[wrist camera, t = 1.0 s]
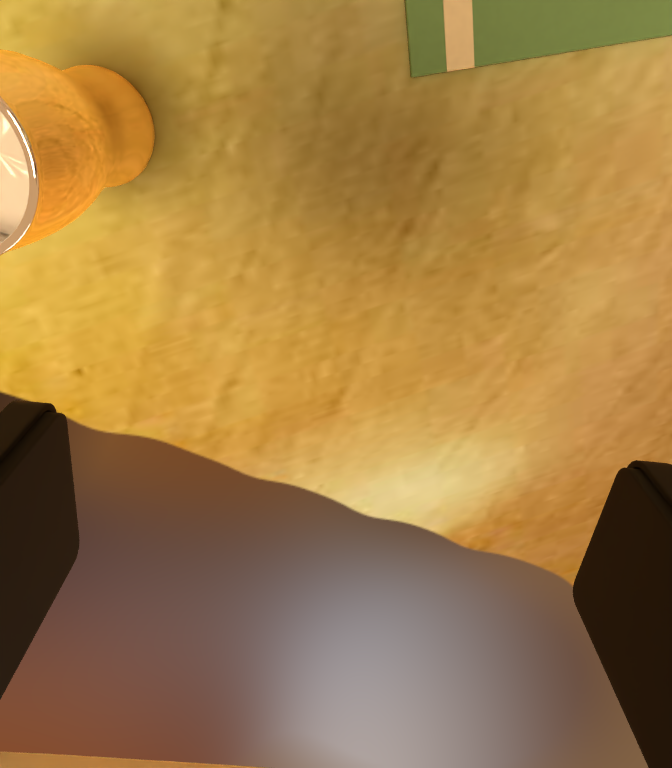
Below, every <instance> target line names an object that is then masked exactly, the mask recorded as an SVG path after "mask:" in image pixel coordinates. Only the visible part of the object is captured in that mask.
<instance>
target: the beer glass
mask: <svg viewBox="0 0 672 768" xmlns="http://www.w3.org/2000/svg"><path fill="white" fill-rule="evenodd" d="M153 147H154V126H153V121H152V117H151V114H150V111H149V109H148V107H147V105H146V103H145V101H144V99H143V98H142V96H141V95H140V94H139V92H138V91H137V90H136V89H135V88H134V86H133V85H132V84H131V83H129V82H128V81H127V80H126V79H125V78H123V77H122V76H120V75H119V74H117V73H115V72H113V71H111V70H109V69H107V68H104V67H100V66H95V65H79V66H74V67H70V68H67V69H65V70H63V71H62V70H60V69H58V68H56V67H54V66H52V65H50V64H48V63H45V62H43V61H41V60H38V59H35V58H32V57H29V56H26V55H23V54H20V53H17V52H13V51H9V50H2V49H0V255H2V254H4V253H5V252H8V251H11V250H14V249H17V248H20V247H23V246H26V245H28V244H31V243H34V242H36V241H39V240H41V239H43V238H45V237H47V236H49V235H51V234H53V233H55V232H57V231H59V230H60V229H62V228H64V227H65V226H67V225H68V224H70V223H71V222H73V221H74V220H75V219H77V218H78V217H79V216H80V215H81V214H82V213H83V212H84V211H85V210H86V209H87V208H88V207H89V206H90V205H91V204H92V203H93V202H94V201H95V199H96V198H97V197H98V195H99V194H100V193H101V191H102V190H103V189H104V187H115V186H119V185H123V184H125V183H128V182H130V181H131V180H133V179H134V178H136V177H137V176H138V175H139V174H140V173H141V172H142V171H143V170H144V168H145V167H146V165H147V164H148V162H149V160H150V157H151V154H152V151H153Z"/></svg>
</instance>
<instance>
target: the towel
mask: <svg viewBox="0 0 672 768" xmlns="http://www.w3.org/2000/svg"><path fill="white" fill-rule="evenodd" d="M405 11H406V24H407V36H408V49H409V61H410V74H411V77H418V76H424V75H430V74H436V73H443V72H449V71H455V70H461V69H468V68H474V67H480V66H486V65H492V64H498V63H504V62H510V61H516V60H523V59H529V58H535V57H541V56H547V55H553V54H559V53H566V52H572V51H578V50H584V49H590V48H596V47H602V46H609V45H615V44H621V43H627V42H633V41H639V40H646V39H652V38H658V37H664V36H670V35H672V0H405Z"/></svg>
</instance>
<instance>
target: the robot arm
mask: <svg viewBox="0 0 672 768" xmlns="http://www.w3.org/2000/svg"><path fill="white" fill-rule="evenodd" d="M78 549H79V530H78V521H77V512H76V502H75V493H74V483H73V474H72V464H71V455H70V445H69V436H68V427H67V420H66V417H65V415H64V414H62V413H57V412H56V409H55V407H54V406H53V405H52V404H50V403H40V402H30V401H19V400H15V401H13V402H11V403H10V404H9V405H7V406H6V407H5V408H4V410H3V411H1V412H0V699H1V697H2V695H3V693H4V692H5V690H6V688H7V686H8V684H9V682H10V680H11V679H12V677H13V675H14V673H15V671H16V669H17V668H18V666H19V664H20V662H21V660H22V658H23V657H24V655H25V653H26V651H27V649H28V647H29V645H30V643H31V642H32V640H33V638H34V636H35V634H36V632H37V631H38V629H39V627H40V625H41V623H42V621H43V620H44V618H45V616H46V614H47V612H48V610H49V608H50V607H51V605H52V603H53V601H54V599H55V597H56V595H57V594H58V592H59V590H60V588H61V586H62V584H63V582H64V581H65V579H66V577H67V575H68V573H69V571H70V570H71V568H72V566H73V564H74V562H75V560H76V557H77V554H78ZM573 597H574V602H575V605H576V607H577V609H578V612H579V614H580V616H581V618H582V620H583V623H584V625H585V627H586V629H587V632H588V634H589V636H590V638H591V640H592V643H593V644H594V647H595V649H596V652H597V654H598V656H599V658H600V660H601V663H602V665H603V667H604V669H605V672H606V674H607V676H608V678H609V680H610V682H611V685H612V687H613V689H614V692H615V694H616V696H617V698H618V700H619V703H620V705H621V707H622V709H623V711H624V714H625V716H626V718H627V720H628V723H629V725H630V727H631V729H632V732H633V734H634V736H635V738H636V740H637V743H638V745H639V747H640V749H641V751H642V754H643V756H644V758H645V760H646V762H647V765H648V767H649V768H672V465H671V464H667V463H658V462H648V461H637V460H636V461H633V462H631V463H630V464H629V465H628V467H627V468H622V469H620V470H619V471H618V473H617V475H616V477H615V480H614V483H613V485H612V488H611V490H610V493H609V495H608V498H607V500H606V503H605V505H604V508H603V510H602V513H601V515H600V518H599V520H598V523H597V526H596V528H595V531H594V533H593V536H592V538H591V541H590V543H589V546H588V548H587V551H586V553H585V556H584V558H583V561H582V564H581V566H580V569H579V571H578V574H577V576H576V579H575V581H574V585H573ZM0 768H265V767H249V766H235V765H234V766H233V765H219V764H203V763H187V762H172V761H156V760H140V759H139V760H138V759H124V758H109V757H93V756H77V755H61V754H39V753H17V752H0Z"/></svg>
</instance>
